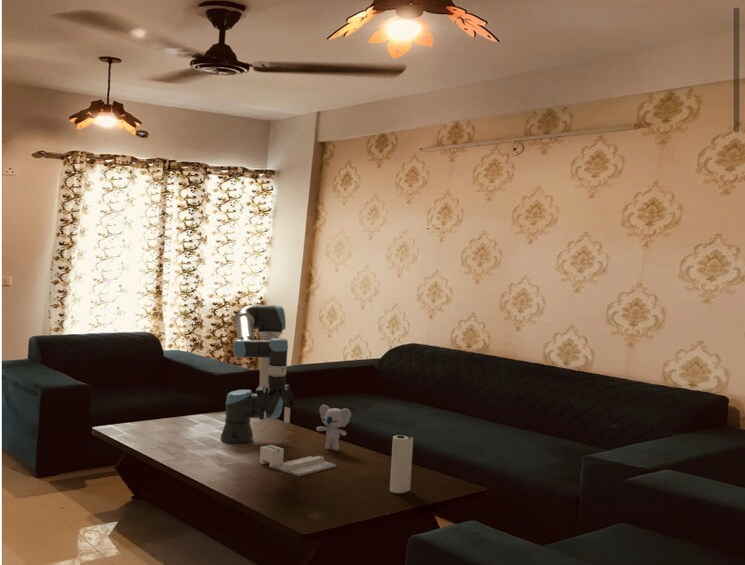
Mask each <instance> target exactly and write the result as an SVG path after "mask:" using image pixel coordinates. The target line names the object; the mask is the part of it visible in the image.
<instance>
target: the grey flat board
mask: <svg viewBox="0 0 745 565" xmlns="http://www.w3.org/2000/svg"><path fill="white" fill-rule="evenodd" d="M336 467H337V464H336V463H332V462H329V461H326V460H325V457H324V456H321V455H316V456H311V455H309V456H305V457H301V458H297V459H292V460H287V461H283V463H279V464H275V465H272V467H271V468H273V469H276V470H278V471H281V472H284V473H285V474H286V473H287V474H290V475H292V476H295V477H303V476H305V475H310V474H314V473H318V472H321V471H325V470H329V469H333V468H336Z"/></svg>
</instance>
